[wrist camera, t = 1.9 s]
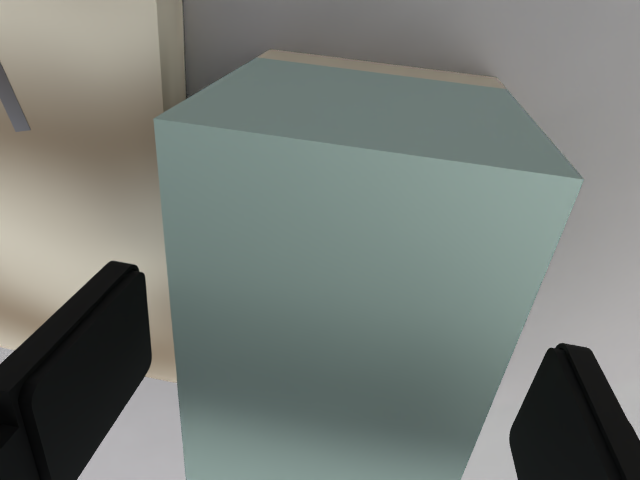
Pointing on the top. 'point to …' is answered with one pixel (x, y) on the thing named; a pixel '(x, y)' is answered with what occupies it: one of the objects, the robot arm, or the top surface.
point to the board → (84, 154)
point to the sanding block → (350, 264)
